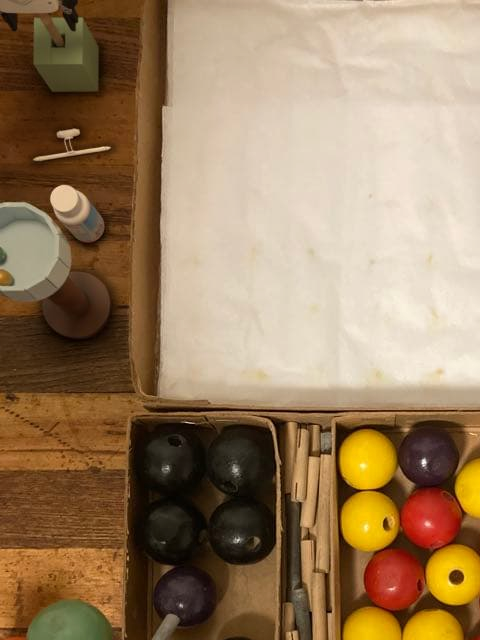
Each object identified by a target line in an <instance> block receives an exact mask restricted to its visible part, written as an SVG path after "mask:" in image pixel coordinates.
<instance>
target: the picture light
mask: <svg viewBox="0 0 480 640" xmlns="http://www.w3.org/2000/svg"><path fill="white" fill-rule="evenodd" d="M80 131H81V130H80V129H78V128H72V129H66V130H65V129H64V130H58V131H57V132H56V137H57V138H58V139H64V141H66V140H68V141H69V142H68V143H69V146H70V148H71V150H69V149H68V146H67V143H66V142H64V146H65V149H66V152H61V153H55V154H49V155H42V156H36V157H34V158H33V159H32V160H33V161H35V162H42V161H48V160H54V159H61V158H67V157H73V156H79V155H86V154H92V153H98V152H106V151H108V150H110V149H111V146H101V147H94V148H86V149H80V150H73V146H72V145H71V144H72V143H71V140H72V139H74V137H78V136H79V135H81V132H80Z"/></svg>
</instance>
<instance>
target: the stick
mask: <svg viewBox="0 0 480 640" xmlns="http://www.w3.org/2000/svg"><path fill="white" fill-rule="evenodd" d="M36 15H37V16H38V18H40V20H41V21H42V23H43V24H44V26H45V28H46V29H47V31H48V33H49V34H50V36H51V38H52V39H53V41H54V42H55V44H56V46H57V47H58V48H65V41H64V39H63V38H62V36H61V34H60V33H59V31H58V29H57V28H56V26H55V24H54V23H53V21H52V19H51V18H52V17H51V16H50V13H36Z"/></svg>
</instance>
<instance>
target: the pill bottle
mask: <svg viewBox="0 0 480 640" xmlns="http://www.w3.org/2000/svg"><path fill="white" fill-rule="evenodd" d="M49 201H50V204H51V206H52V208H53V212H54V215H55V216H56V218H57V219H58V220H59V222H60V223H61V224H62V225H63V226H64V227H65V228H66V229H67V230H68V231H69V232H70V233H71V235H72V236H74V238H75V239H76V240H78V241H80V242H82V243H93V242H95V241H97V240H99V239H100V238H101V237H102V235H103V234H104V231H105V221H104V218H103V217H102V215H101V214H100V213H99V212H98V210H97V209H96V208H95V206H94V205H93V203H92V202H91V201H90V200H89V198H88V197H87V196H86V195H85V194H84V193H83V192H82V191H79V190H77V189H75V188H74V187H72V186H70V185H67V184H61V185H58V186H57V187H55V188H54V189H53V190H52V192H51V194H50V199H49Z"/></svg>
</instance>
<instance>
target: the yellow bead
mask: <svg viewBox="0 0 480 640" xmlns="http://www.w3.org/2000/svg"><path fill="white" fill-rule="evenodd" d="M11 282H12V276H11V274H10V273H9V272H8V271H6V270H4V269H0V285H1V286H9V285H10V284H11Z"/></svg>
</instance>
